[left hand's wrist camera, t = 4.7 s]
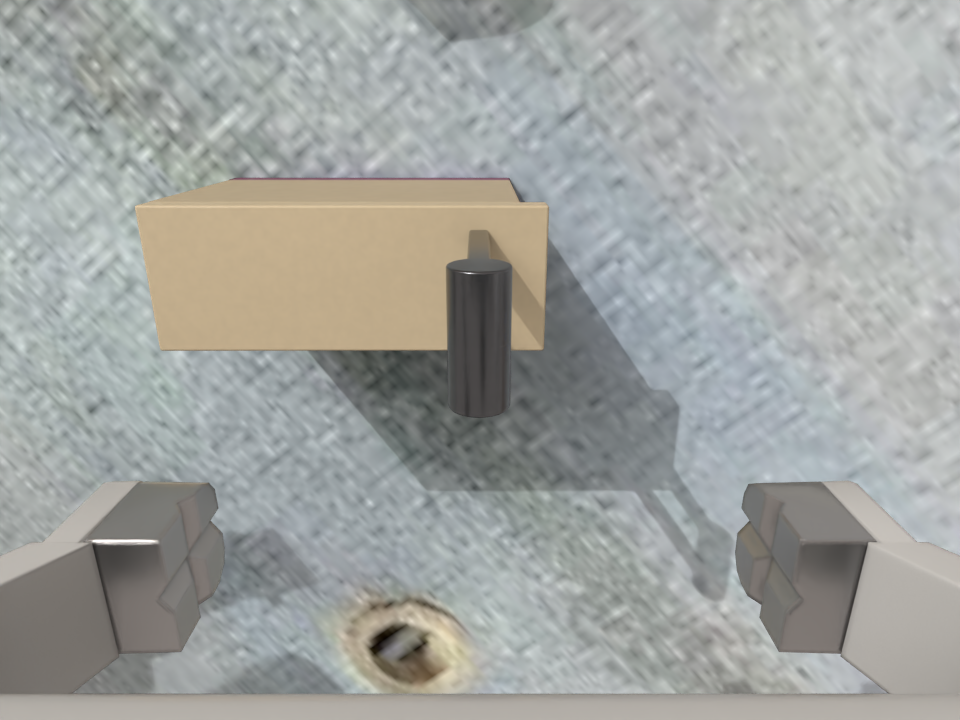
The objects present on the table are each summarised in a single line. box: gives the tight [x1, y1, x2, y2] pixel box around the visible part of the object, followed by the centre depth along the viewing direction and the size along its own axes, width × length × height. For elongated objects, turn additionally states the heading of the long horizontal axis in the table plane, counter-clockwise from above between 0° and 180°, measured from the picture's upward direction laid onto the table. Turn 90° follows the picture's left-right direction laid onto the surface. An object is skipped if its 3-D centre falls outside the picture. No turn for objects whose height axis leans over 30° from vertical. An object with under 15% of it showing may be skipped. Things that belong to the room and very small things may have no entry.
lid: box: [135, 202, 549, 418], centre depth 21 cm, size 15×6×8 cm, turn 90°
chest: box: [150, 178, 519, 202], centre depth 30 cm, size 14×6×10 cm, turn 90°
